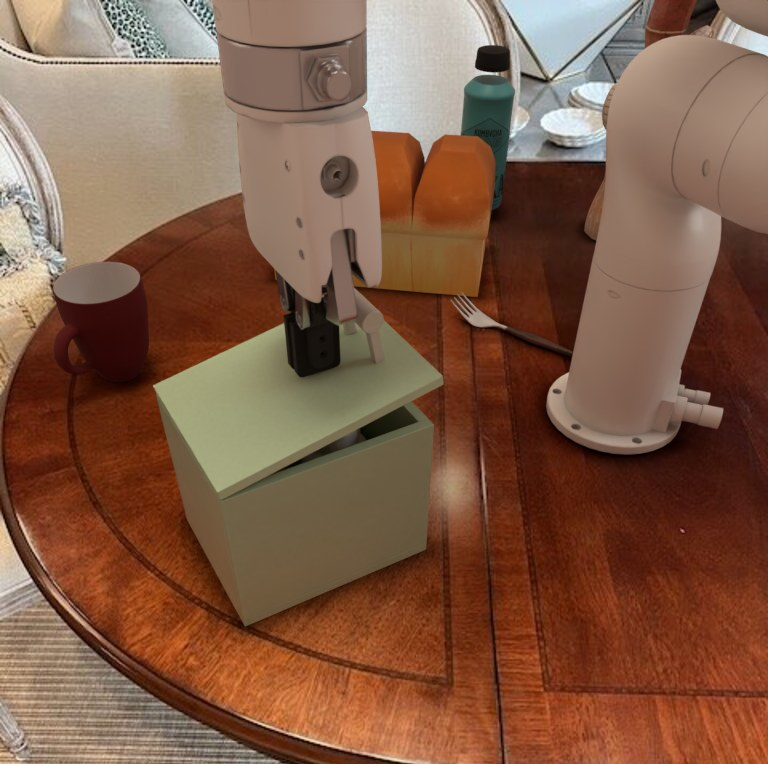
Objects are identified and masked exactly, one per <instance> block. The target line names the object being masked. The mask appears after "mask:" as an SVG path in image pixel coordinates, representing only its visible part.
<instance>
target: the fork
mask: <svg viewBox="0 0 768 764" xmlns="http://www.w3.org/2000/svg"><path fill="white" fill-rule="evenodd" d="M461 294H462V295H463V296H462V297H463V298H464V299H465V300H466V301H467V302H468V303H466V301H465V300H464V299H463V298H462V297H461V296H459V295H457V297H458V298H459V300H460V301H461V302H462V303H463V304H462V303H461V302H460V301H459V300H458V299H457V298H456V297H455V296H453V299H454V301H455V302H456V303H457V304H458V305H459V307H460V308H461V309H462V310H463V311H462V310H461V309H460V308H459V307H458V305H457V304H456V303H455V302H454V301H453V299H450V300H449V301H450V302H451V304H452V305H453V307H455V309H456V310H457V311H458V312H459V314H460V315H461V316H462V317H463V318H464V319H465V320H466V321H467V322H468V323H469V324H470V325H471V326H473V327H476V328H500V329H501V330H504V331H506V332H508V333H510V334H512V335H513V336H516V337H518V338H519V339H521V340H524V341H525V342H528V343H529V344H532V345H535V346H539V347H541V348H545V349H548V350H551V351H554V352H557V353H560V354H562V355H566V356H568V357H572V356H573V351H572V350H570V349H568V348H566V347H564V346H561V345H560V344H557V343H555V342H553V341H550V340H548V339H547V338H544V337H542V336H539V335H537V334H534V333H532V332H528V331H524V330H521V329H519V328H514V327H511V326H507V325H504V324H501V323H498V322H496V321H495V320H493V319H492V318H491V317H490V316H488V315H486V314H485V313H484V312H482V311H481V310H480V309H479V308H478V307H476V306H475V305H474V304H473V302H472V301H470V299H469V298H468V296H465V295H464V294H463V292H461ZM463 305H464V306H465V307H466V308H467V309H468V310H467V309H466V308H465V307H464V306H463ZM470 306H471V307H470ZM469 311H470V312H469ZM465 313H466V314H465Z"/></svg>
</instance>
